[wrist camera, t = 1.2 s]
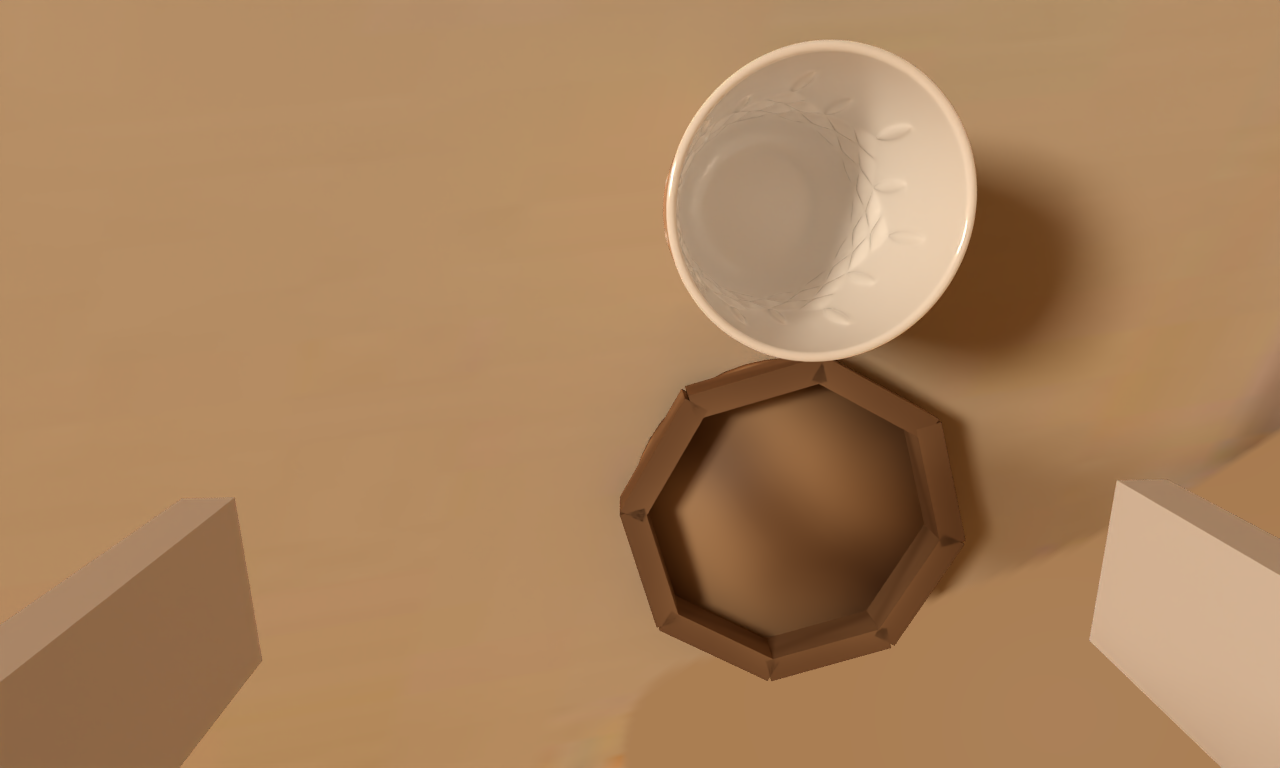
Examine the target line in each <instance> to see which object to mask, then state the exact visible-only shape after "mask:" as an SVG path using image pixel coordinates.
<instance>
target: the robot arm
mask: <svg viewBox="0 0 1280 768" xmlns="http://www.w3.org/2000/svg"><path fill="white" fill-rule="evenodd" d="M1089 641H1090V642H1091V643H1092V644H1094V645H1095V646H1096V647H1097V648H1098V649H1099V650H1100V651H1101V652H1102V653H1103V654H1104V655H1105V656H1106V657H1107V658H1108V659H1109V660H1110V661H1111V662H1112V663H1113V664H1114V665H1115V666H1116V667H1118V669H1119V670H1121V671H1122V672H1123V673H1124V674H1125V675H1126V676H1127V677H1128V678H1129V679H1130V680H1131V681H1132V682H1133V683H1134V684H1135V685H1136V686H1137V687H1138V688H1139V689H1140V690H1141V691H1142V692H1144V693H1145V695H1147V696H1148V697H1149V698H1150V699H1151V700H1152V701H1153V702H1154V703H1155V704H1156V705H1157V706H1158V707H1159V708H1160V709H1161V710H1162V711H1163V712H1164V713H1165V714H1166V715H1167V716H1168V717H1169V718H1171V720H1173V721H1174V722H1175V723H1176V724H1177V725H1178V726H1179V727H1180V728H1181V729H1182V730H1183V731H1184V732H1185V733H1186V734H1187V735H1188V736H1189V737H1190V738H1191V739H1192V740H1193V741H1194V742H1195V743H1196V744H1198V745H1199V746H1200V747H1201V748H1202V749H1203V750H1204V751H1205V752H1206V753H1207V754H1208V755H1209V756H1210V757H1211V758H1212V759H1213V760H1214V761H1215V762H1216V763H1218V765H1219V766H1221V768H1280V539H1279V538H1277V537H1276V536H1274V535H1272V534H1270V533H1268V532H1266V531H1264V530H1262V529H1260V528H1258V527H1257V526H1255V525H1253V524H1251V523H1249V522H1247V521H1245V520H1243V519H1241V518H1240V517H1238V516H1236V515H1234V514H1232V513H1230V512H1228V511H1226V510H1224V509H1222V508H1221V507H1219V506H1217V505H1215V504H1213V503H1211V502H1209V501H1207V500H1205V499H1204V498H1202V497H1200V496H1198V495H1196V494H1194V493H1192V492H1190V491H1188V490H1186V489H1185V488H1183V487H1181V486H1179V485H1177V484H1175V483H1173V482H1171V481H1169V480H1168V479H1154V480H1117V482H1116V488H1115V494H1114V500H1113V505H1112V511H1111V517H1110V523H1109V529H1108V535H1107V540H1106V546H1105V552H1104V559H1103V564H1102V570H1101V575H1100V581H1099V587H1098V593H1097V599H1096V604H1095V611H1094V616H1093V623H1092V628H1091V634H1090V640H1089ZM261 661H262V656H261V650H260V644H259V638H258V632H257V626H256V620H255V615H254V609H253V603H252V597H251V591H250V585H249V579H248V573H247V567H246V562H245V556H244V550H243V544H242V538H241V532H240V526H239V520H238V514H237V508H236V503H235V498H186V499H181V500H179V501H178V502H176V503H175V504H173V505H172V506H170V507H169V508H168V509H166V510H165V511H163V512H162V513H160V514H159V515H158V516H156V517H155V518H153V519H152V520H150V521H149V522H147V523H146V524H145V525H143V526H142V527H140V528H139V529H137V530H136V531H134V532H133V533H132V534H130V535H129V536H127V537H126V538H124V539H123V540H122V541H120V542H119V543H117V544H116V545H114V546H113V547H111V548H110V549H109V550H107V551H106V552H104V553H103V554H101V555H100V556H99V557H97V558H96V559H94V560H93V561H91V562H90V563H88V564H87V565H86V566H84V567H83V568H81V569H80V570H78V571H77V572H75V573H74V574H73V575H71V576H70V577H68V578H67V579H65V580H64V581H63V582H61V583H60V584H58V585H57V586H55V587H54V588H52V589H51V590H50V591H48V592H47V593H45V594H44V595H42V596H41V597H39V598H38V599H37V600H35V601H34V602H32V603H31V604H29V605H28V606H27V607H25V608H24V609H22V610H21V611H19V612H18V613H16V614H15V615H14V616H12V617H11V618H9V619H8V620H6V621H5V622H4V623H2V624H1V625H0V768H180V766H181V765H182V764H183V762H184V761H185V760H186V759H187V757H188V756H189V755H190V753H191V752H192V751H193V750H194V748H195V747H196V746H197V744H198V743H199V742H200V740H201V739H202V738H203V737H204V735H205V734H206V733H207V731H208V730H209V729H210V727H211V726H212V725H213V724H214V722H215V721H216V720H217V718H218V717H219V716H220V714H221V713H222V712H223V711H224V709H225V708H226V707H227V705H228V704H229V703H230V701H231V700H232V699H233V698H234V696H235V695H236V694H237V692H238V691H239V690H240V689H241V687H242V686H243V685H244V683H245V682H246V681H247V679H248V678H249V677H250V676H251V674H252V673H253V672H254V670H255V669H256V668H257V666H258V665H259V664H260V663H261Z"/></svg>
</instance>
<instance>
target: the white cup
mask: <svg viewBox="0 0 1280 768" xmlns="http://www.w3.org/2000/svg"><path fill="white" fill-rule="evenodd" d="M976 206H977V176H976V168H975V161H974V156H973V152H972V148H971V145H970V142H969V139H968V136H967V133H966V131H965V128H964V126H963V124H962V122H961V120H960V118H959V116H958V114H957V112H956V111H955V109H954V107H953V106H952V104H951V103H950V101H949V100H948V98H947V97H946V96H945V94H944V93H943V92H942V91H941V90H940V88H939V87H938V86H937V85H936V84H935V83H934V82H933V81H932V80H931V79H930V78H929V77H928V76H927V75H926V74H924V73H923V72H922V71H921V70H919V69H918V68H917V67H915V66H914V65H913V64H911V63H910V62H908V61H906V60H905V59H903V58H901V57H899V56H897V55H895V54H893V53H891V52H889V51H887V50H884V49H881V48H879V47H876V46H872V45H869V44H865V43H860V42H855V41H847V40H814V41H807V42H801V43H797V44H793V45H789V46H785V47H782V48H779V49H777V50H774V51H772V52H769V53H767V54H765V55H763V56H761V57H759V58H757V59H755V60H753V61H752V62H750V63H748V64H747V65H745V66H744V67H742V68H741V69H739V70H738V71H736V72H735V73H734V74H733V75H731V76H730V77H729V78H728V79H726V80H725V81H724V82H723V83H722V84H721V85H720V86H719V87H718V88H717V89H716V90H715V91H714V92H713V93H712V94H711V95H710V96H709V98H708V99H707V100H706V101H705V102H704V104H703V105H702V106H701V108H700V109H699V110H698V112H697V113H696V115H695V116H694V118H693V119H692V121H691V122H690V124H689V126H688V128H687V130H686V132H685V134H684V136H683V138H682V140H681V142H680V144H679V147H678V149H677V152H676V154H675V156H674V159H673V161H672V164H671V166H670V169H669V173H668V176H667V179H666V184H665V189H664V197H663V223H664V231H665V236H666V241H667V244H668V247H669V250H670V253H671V256H672V258H673V260H674V263H675V265H676V267H677V270H678V272H679V275H680V277H681V279H682V281H683V283H684V285H685V287H686V288H687V290H688V292H689V294H690V295H691V297H692V298H693V300H694V301H695V302H696V304H697V305H698V306H699V308H700V309H701V310H702V311H703V312H704V314H705V315H706V316H707V317H708V318H709V319H710V320H711V321H712V322H713V323H714V324H715V325H716V326H718V327H719V328H720V329H721V330H722V331H724V332H725V333H726V334H728V335H729V336H730V337H732V338H733V339H735V340H737V341H738V342H740V343H742V344H744V345H745V346H747V347H749V348H751V349H754V350H756V351H758V352H761V353H764V354H767V355H770V356H773V357H777V358H781V359H786V360H793V361H803V362H822V361H832V360H839V359H844V358H848V357H852V356H856V355H859V354H862V353H865V352H868V351H870V350H873V349H875V348H877V347H879V346H881V345H883V344H885V343H887V342H889V341H891V340H892V339H894V338H896V337H897V336H899V335H900V334H902V333H903V332H905V331H906V330H908V329H909V328H910V327H911V326H913V325H914V324H915V323H916V322H917V321H919V320H920V319H921V318H922V317H923V316H924V315H925V314H926V313H927V312H928V311H929V310H930V309H931V308H932V307H933V306H934V304H935V303H936V302H937V301H938V300H939V298H940V297H941V296H942V294H943V293H944V292H945V290H946V289H947V287H948V286H949V284H950V283H951V281H952V280H953V278H954V276H955V274H956V272H957V271H958V269H959V267H960V264H961V262H962V260H963V258H964V255H965V253H966V250H967V247H968V244H969V241H970V238H971V234H972V230H973V226H974V221H975V215H976Z"/></svg>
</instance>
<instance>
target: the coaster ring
mask: <svg viewBox="0 0 1280 768" xmlns="http://www.w3.org/2000/svg"><path fill="white" fill-rule="evenodd" d="M685 388H686V391H685V390H683V389H681V391H680V393H679V394H678V396H677V398H676V400H675V401H674V403H673V405H672V407H671V408H670V410H669V412H668V414H667V415H666V417H665V418H664V419H663V420H662V422H661V423H660V424H659V426H658V427H657V429H656V430H655V432H654V433H653V435H652V436H651V438H650V440H649V442H648V444H647V446H646V448H645V450H644V452H643V454H642V456H641V459H640V462H639V465H638V466H637V468H636V470H635V472H634V473H633V475H632V477H631V479H630V480H629V482H628V484H627V486H626V487H625V489H624V491H623V493H622V494H621V496H620V517H621V520H622V523H623V526H624V529H625V532H626V535H627V538H628V541H629V544H630V547H631V550H632V553H633V556H634V560H635V563H636V566H637V569H638V572H639V575H640V578H641V581H642V584H643V587H644V590H645V593H646V596H647V599H648V602H649V605H650V608H651V611H652V614H653V617H654V620H655V623H656V627H659V630H660V631H662V632H664V633H666V634H668V635H670V636H672V637H675V638H677V639H679V640H681V641H683V642H685V643H687V644H690V645H692V646H694V647H696V648H698V649H700V650H702V651H705V652H707V653H709V654H711V655H713V656H715V657H717V658H720V659H722V660H724V661H726V662H728V663H730V664H732V665H735V666H737V667H739V668H741V669H743V670H745V671H748V672H750V673H752V674H754V675H756V676H758V677H760V678H762V679H765V680H767V681H768V679H769V678H771V681H774V680H777V679H781V678H784V677H788V676H791V675H795V674H799V673H802V672H806V671H809V670H813V669H817V668H820V667H824V666H828V665H831V664H835V663H838V662H842V661H846V660H849V659H853V658H856V657H860V656H864V655H867V654H871V653H874V652H878V651H882V650H885V649H888V648H891V645H890V644H892V645H895V644H896V643H897V641H898V640H899V638H900V637H901V635H902V634H903V632H904V631H905V630H906V628H907V627H908V625H909V624H910V622H911V621H912V619H913V618H914V616H915V615H916V614H917V612H918V611H919V609H920V608H921V607H922V605H923V604H924V602H925V601H926V599H927V598H928V596H929V595H930V594H931V592H932V591H933V589H934V588H935V586H936V585H937V583H938V582H939V580H940V579H941V578H942V576H943V575H944V573H945V572H946V570H947V569H948V567H949V566H950V565H951V563H952V562H953V560H954V559H955V557H956V556H957V554H958V553H959V552H960V550H961V549H962V547H963V546H964V543H963V542H962V541H965V536H964V531H963V526H962V521H961V516H960V511H959V506H958V501H957V497H956V492H955V487H954V482H953V477H952V472H951V467H950V462H949V457H948V452H947V447H946V442H945V437H944V432H943V427H942V422H940V421H938V420H939V419H938V418H936V417H935V416H933V415H932V414H930V413H929V412H927V411H926V410H924V409H923V408H921V407H919V406H917V405H915V404H913V403H912V402H910V401H908V400H906V399H904V398H902V397H901V396H899V395H897V394H895V393H893V392H892V391H890V390H888V389H886V388H884V387H882V386H881V385H879V384H877V383H875V382H873V381H871V380H870V379H868V378H867V377H865V376H863V375H861V374H859V373H857V372H855V371H853V370H851V369H850V368H848V367H846V366H844V365H842V364H840V363H839V362H837V361H835V360H832V361H822V362H803V361H793V360H786V359H781V358H779V359H770V360H763V361H759V362H754V363H750V364H746V365H743V366H740V367H737V368H734V369H732V370H729V371H726V372H724V373H722V374H720V375H718V376H716V377H714V378H711V379H708V380H705V381H701V382H698V383H694V384H691V385H688V386H685Z"/></svg>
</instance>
